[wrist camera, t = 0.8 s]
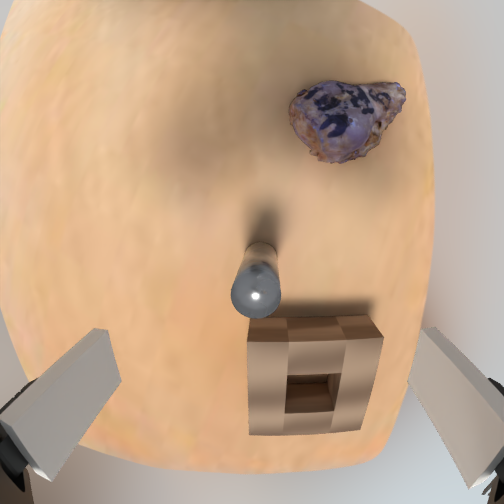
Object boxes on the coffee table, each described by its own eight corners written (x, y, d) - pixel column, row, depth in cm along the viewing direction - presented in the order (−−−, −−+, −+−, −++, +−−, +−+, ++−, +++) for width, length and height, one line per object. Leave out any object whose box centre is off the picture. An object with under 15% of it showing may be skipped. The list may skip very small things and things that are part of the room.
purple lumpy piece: (383, 73, 22) (408, 50, 16) (413, 142, 24) (445, 132, 18) (274, 101, 24) (276, 77, 18) (305, 176, 25) (316, 172, 19)
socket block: (250, 317, 28) (246, 341, 23) (367, 314, 28) (383, 337, 23) (252, 405, 31) (249, 435, 26) (350, 402, 30) (360, 429, 25)
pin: (244, 242, 27) (229, 271, 17) (276, 242, 27) (281, 271, 17) (244, 273, 27) (231, 318, 18) (276, 273, 27) (280, 318, 17)
